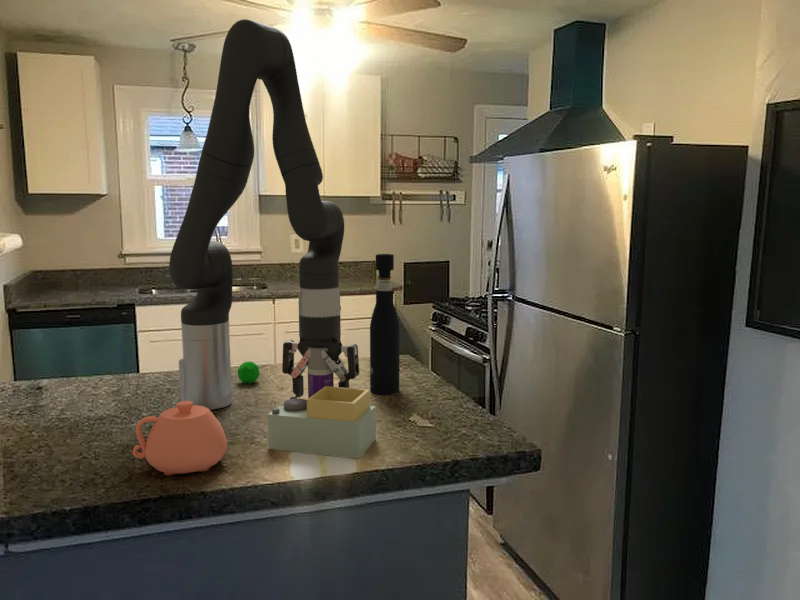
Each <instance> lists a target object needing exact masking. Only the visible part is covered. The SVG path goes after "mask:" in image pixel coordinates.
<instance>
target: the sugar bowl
mask: <svg viewBox="0 0 800 600" xmlns="http://www.w3.org/2000/svg"><path fill="white" fill-rule="evenodd" d="M149 422H151V423H153V422H154V423H153V425H152V428H151V429H150V432H149V433H148V435H147V439H146V441H145V439H144V436H143V432H142V427H143V425H144V424H145V423H149ZM135 433H136V437H137V440H138V442H139V444H138V445H135V446H134V447H133V449H132V454H133V456H134V457H135V458H136V459H143V458H144V459H146V461H147V462H148V464H149V465H151V466H152V467H153V468H154V469H155V470H157V471H158V472H162V473H163V474H164V475H165V476H174V475H175V474H176V475H177V474H189V473H196V472H199V473H200V472H207V471H210V469H211V467H213V466H215V465H216V464H217V463H219V461H220V460H221V459H222V458H223V457H224V456H225V454H226V451H227V449H228V441H227V436H226V433H225V431H224V428H223V426H222V425H221V423H220V421H219V420H218V419H217V417H216V416H215V415H214V414H213V412H212V411H211V410H209V409H208V408H206V407H204V406H198V405H193V402H191V401H181V400H180V401H179V402H177V403H176V406H175V407H174V406H173V407H170V408H168V409H166V410H163V411H162V412H161V413H160V414H159V416H158V417H157V416H154V415H148V416H145V417H143V418H141V419H139V421H137V422H136V426H135ZM139 449H141V452H139V451H138V450H139Z"/></svg>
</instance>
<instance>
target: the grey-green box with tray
mask: <svg viewBox="0 0 800 600" xmlns="http://www.w3.org/2000/svg"><path fill="white" fill-rule="evenodd" d="M376 408H377V407H376V406H375V405H371V391H370V389H365V388H354V387H353V388H352V387H349V388H342V387H339V386H334V387H330V386H325V387H324V388H322V389H321V390H319V391H318V392H317V393H315V394H314V395H312V396H311V397H310V398H308V397H307V399H304V398H298V397H296V396H290V397H289V399H287V400H284V401H283V404H281V405H279V406H278V407H276V408H272V410H271V411H270V412H269V413H267V431H268V432H267V436H268V449H269V450H277V451H285V452H286V451H288V452H293V453H294V452H296V453H305V454H312V455H313V454H314V455H323V456H333V457H341V458H350V459H360V458H362V456H363V455H364V454H365V453H366V451H367V450H368V449H369V448H370V447H371V446H372V444H373V443H374V442H375V441H376V438H377V437H376V436H377V434H376V433H377V430H376V428H377V427H376V424H377V423H376V422H377V421H376V418H377V417H376V415H377V413H376V412H377V411H376Z"/></svg>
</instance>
